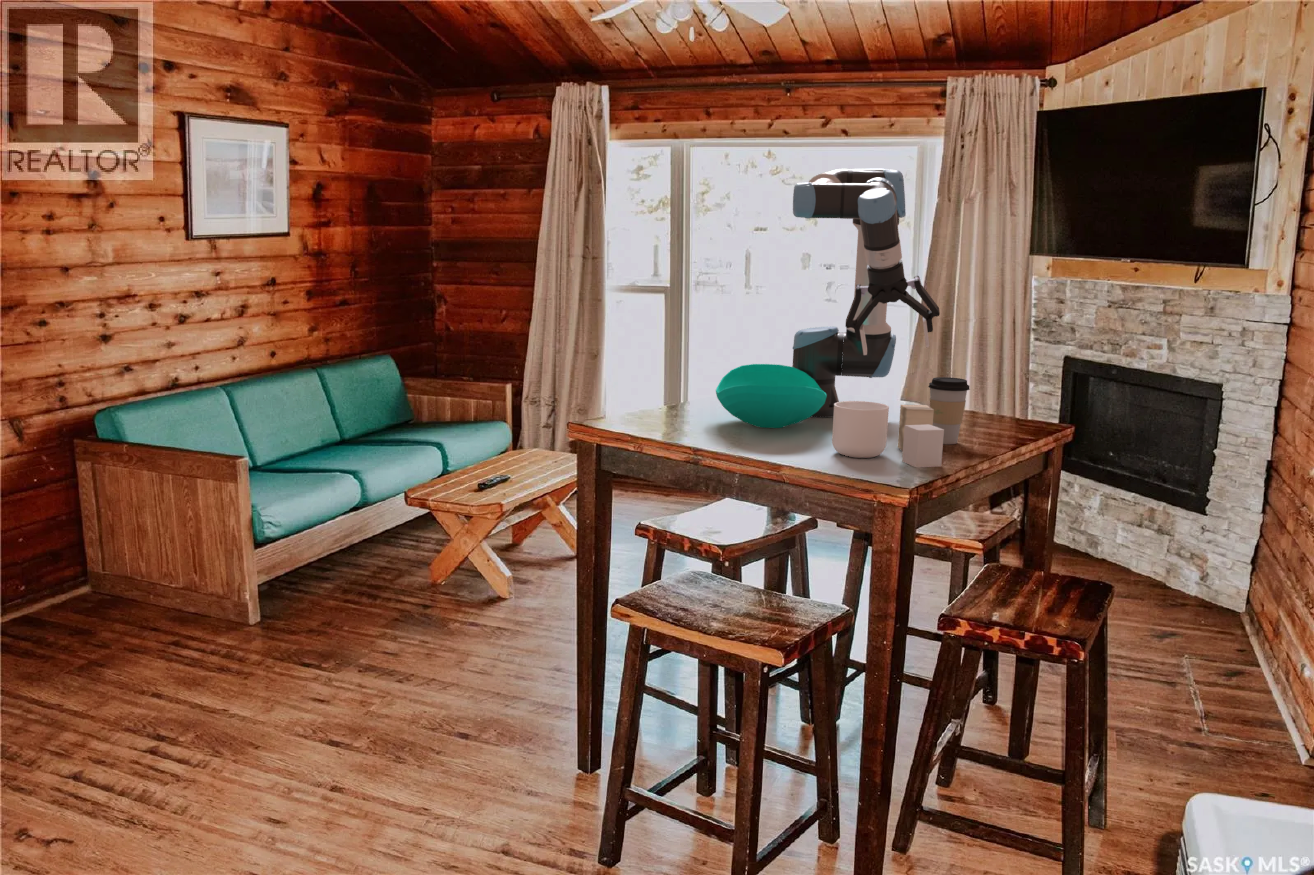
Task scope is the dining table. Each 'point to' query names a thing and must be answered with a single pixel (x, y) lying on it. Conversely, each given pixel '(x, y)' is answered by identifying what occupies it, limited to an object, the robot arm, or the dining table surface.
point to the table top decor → (770, 395)
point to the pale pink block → (923, 445)
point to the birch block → (913, 418)
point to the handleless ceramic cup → (860, 428)
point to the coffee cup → (948, 405)
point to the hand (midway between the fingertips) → (896, 348)
